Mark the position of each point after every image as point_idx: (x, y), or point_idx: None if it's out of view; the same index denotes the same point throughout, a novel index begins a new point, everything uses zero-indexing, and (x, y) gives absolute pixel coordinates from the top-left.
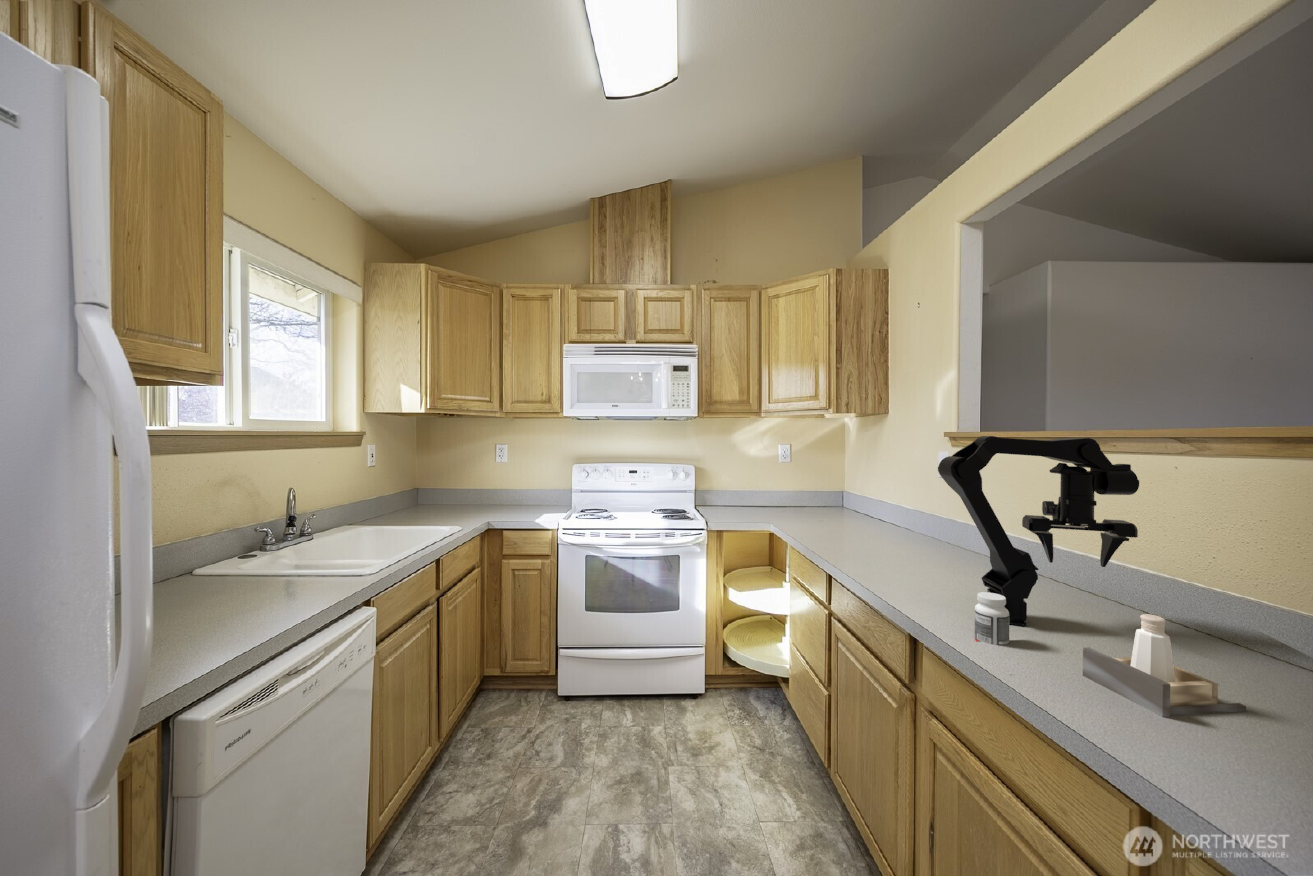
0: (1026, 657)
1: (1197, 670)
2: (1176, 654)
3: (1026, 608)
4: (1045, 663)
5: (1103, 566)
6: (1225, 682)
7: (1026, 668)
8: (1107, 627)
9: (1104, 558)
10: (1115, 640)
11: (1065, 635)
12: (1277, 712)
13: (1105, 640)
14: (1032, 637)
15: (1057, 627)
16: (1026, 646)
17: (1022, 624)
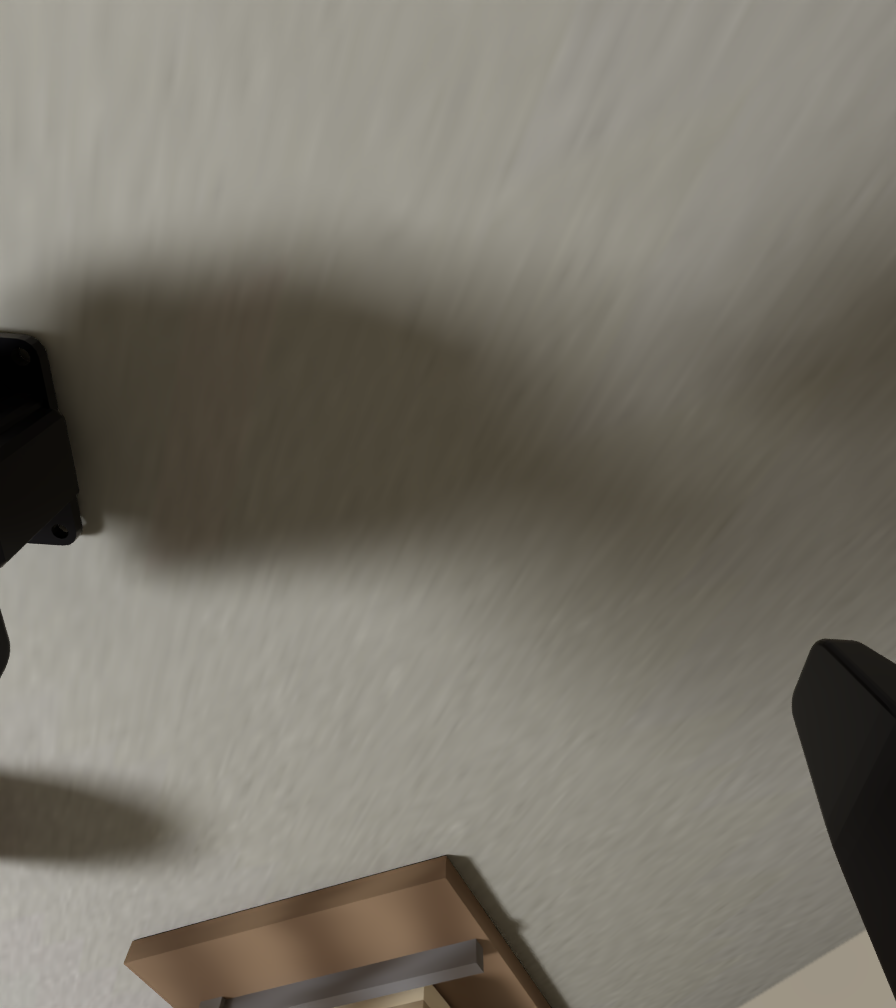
0: (55, 869)
1: (695, 815)
2: (747, 685)
3: (28, 541)
4: (118, 894)
5: (801, 719)
6: (715, 877)
7: (48, 938)
8: (632, 362)
9: (864, 909)
10: (541, 590)
11: (284, 597)
12: (694, 997)
13: (481, 606)
14: (102, 674)
15: (277, 475)
16: (63, 779)
17: (55, 541)
